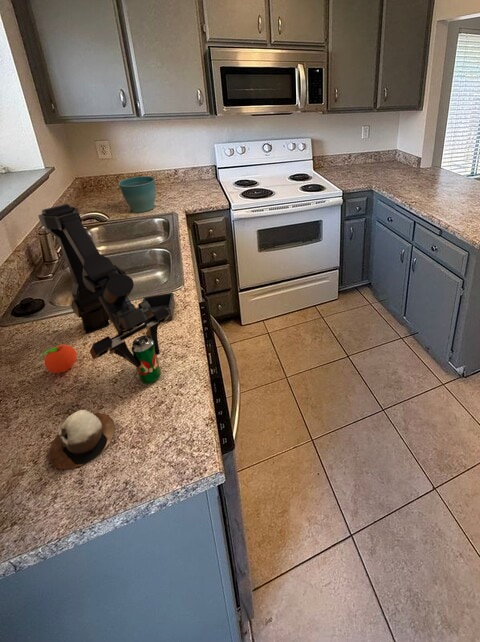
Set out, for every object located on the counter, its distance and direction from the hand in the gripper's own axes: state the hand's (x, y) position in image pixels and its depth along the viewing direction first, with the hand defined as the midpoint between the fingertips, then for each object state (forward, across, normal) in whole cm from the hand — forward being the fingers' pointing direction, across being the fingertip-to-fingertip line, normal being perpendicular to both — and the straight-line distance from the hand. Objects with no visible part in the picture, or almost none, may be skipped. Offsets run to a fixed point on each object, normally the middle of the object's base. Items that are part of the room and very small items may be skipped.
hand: (148, 360), depth 90 cm
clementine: (-12, -13, +21) cm, 27 cm away
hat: (+7, -18, +2) cm, 19 cm away
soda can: (+4, 0, +6) cm, 7 cm away
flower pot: (-81, +58, +91) cm, 134 cm away
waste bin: (-13, +15, +22) cm, 29 cm away
